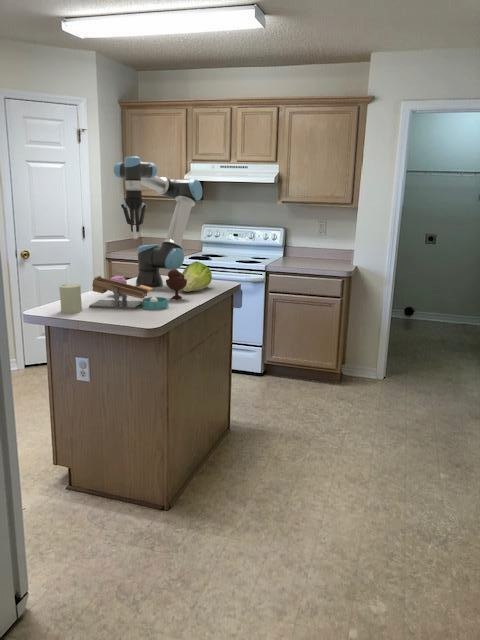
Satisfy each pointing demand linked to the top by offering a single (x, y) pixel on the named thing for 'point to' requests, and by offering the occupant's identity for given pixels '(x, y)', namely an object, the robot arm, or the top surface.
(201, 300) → the top surface
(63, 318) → the top surface
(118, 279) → the cupcake
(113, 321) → the top surface
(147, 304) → the teal bowl
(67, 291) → the can
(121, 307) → the chute stand
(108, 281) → the chute
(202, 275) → the lettuce
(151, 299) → the ball
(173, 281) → the ice cream bowl
